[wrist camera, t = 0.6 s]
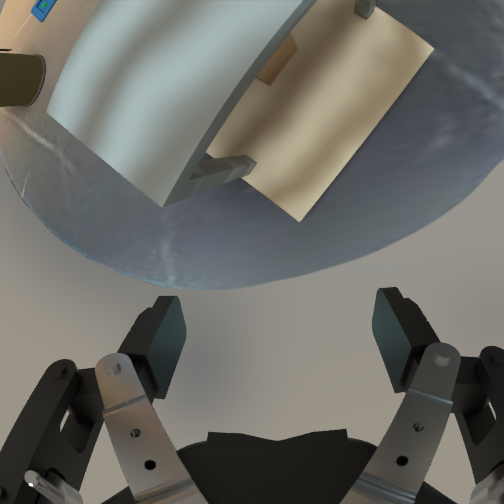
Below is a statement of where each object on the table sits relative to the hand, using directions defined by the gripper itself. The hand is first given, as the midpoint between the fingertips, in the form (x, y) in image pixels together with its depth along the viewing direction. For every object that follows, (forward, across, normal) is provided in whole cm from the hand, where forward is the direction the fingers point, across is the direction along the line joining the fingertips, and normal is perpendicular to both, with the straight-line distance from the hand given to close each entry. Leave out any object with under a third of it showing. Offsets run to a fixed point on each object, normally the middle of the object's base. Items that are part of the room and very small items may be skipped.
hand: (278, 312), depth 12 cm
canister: (+34, +42, -24) cm, 60 cm away
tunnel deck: (+24, 0, -14) cm, 28 cm away
